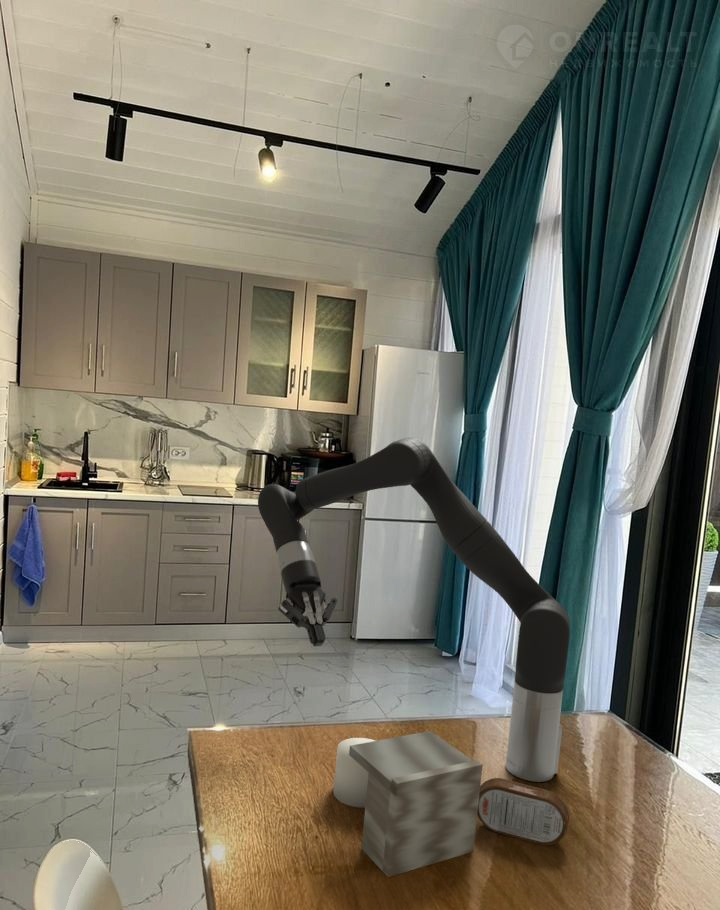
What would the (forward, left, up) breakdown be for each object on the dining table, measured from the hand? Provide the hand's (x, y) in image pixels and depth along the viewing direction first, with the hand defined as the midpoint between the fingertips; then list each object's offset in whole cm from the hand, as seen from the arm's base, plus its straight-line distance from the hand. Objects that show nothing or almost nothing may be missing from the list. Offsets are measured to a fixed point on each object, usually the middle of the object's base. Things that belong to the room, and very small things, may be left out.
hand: (319, 644), depth 142 cm
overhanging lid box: (0, +33, -21) cm, 39 cm away
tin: (-18, +40, -21) cm, 48 cm away
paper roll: (0, +19, -21) cm, 28 cm away
